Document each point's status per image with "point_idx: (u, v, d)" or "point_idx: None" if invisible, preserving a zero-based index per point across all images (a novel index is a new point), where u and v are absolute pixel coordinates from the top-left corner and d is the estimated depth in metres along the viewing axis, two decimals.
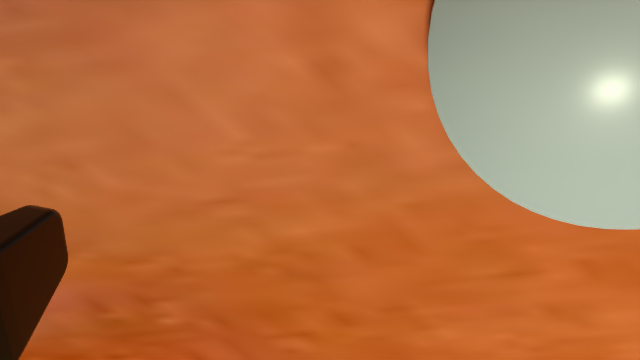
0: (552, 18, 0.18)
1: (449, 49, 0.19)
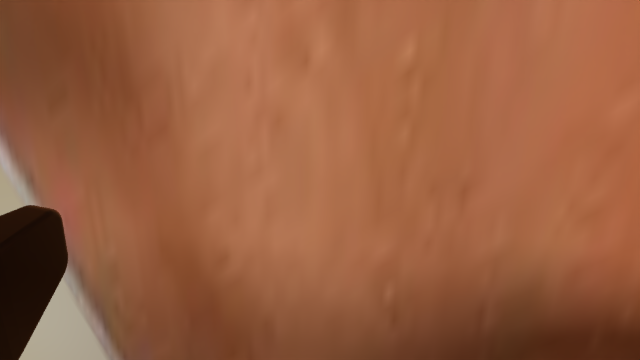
0: None
1: None
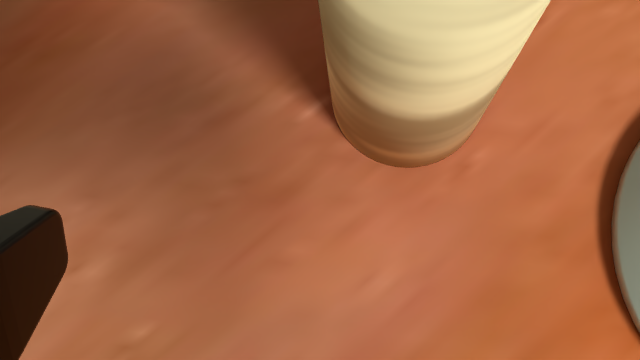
0: None
1: None
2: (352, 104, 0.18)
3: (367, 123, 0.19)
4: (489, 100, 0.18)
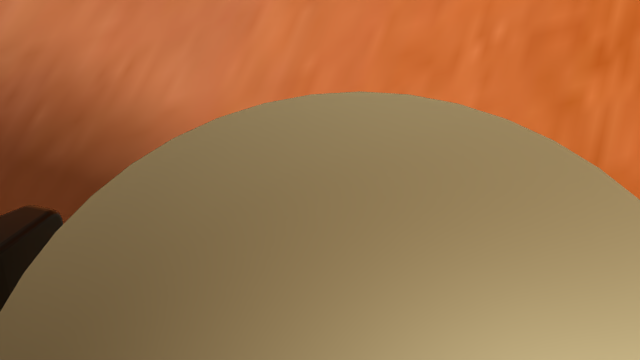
0: None
1: None
2: None
3: None
4: None
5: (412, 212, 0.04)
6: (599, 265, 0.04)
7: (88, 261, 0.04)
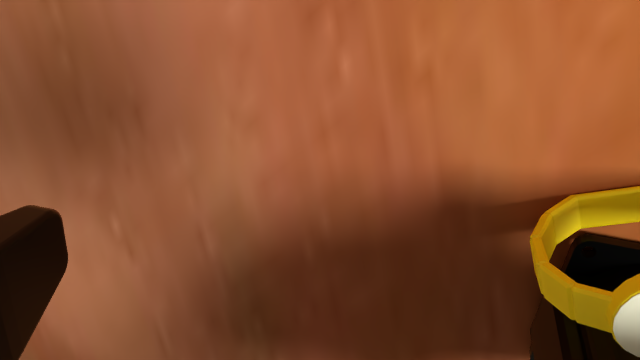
0: None
1: None
2: None
3: None
4: None
5: None
6: None
7: None
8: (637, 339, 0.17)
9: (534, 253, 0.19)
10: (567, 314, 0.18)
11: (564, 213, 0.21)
